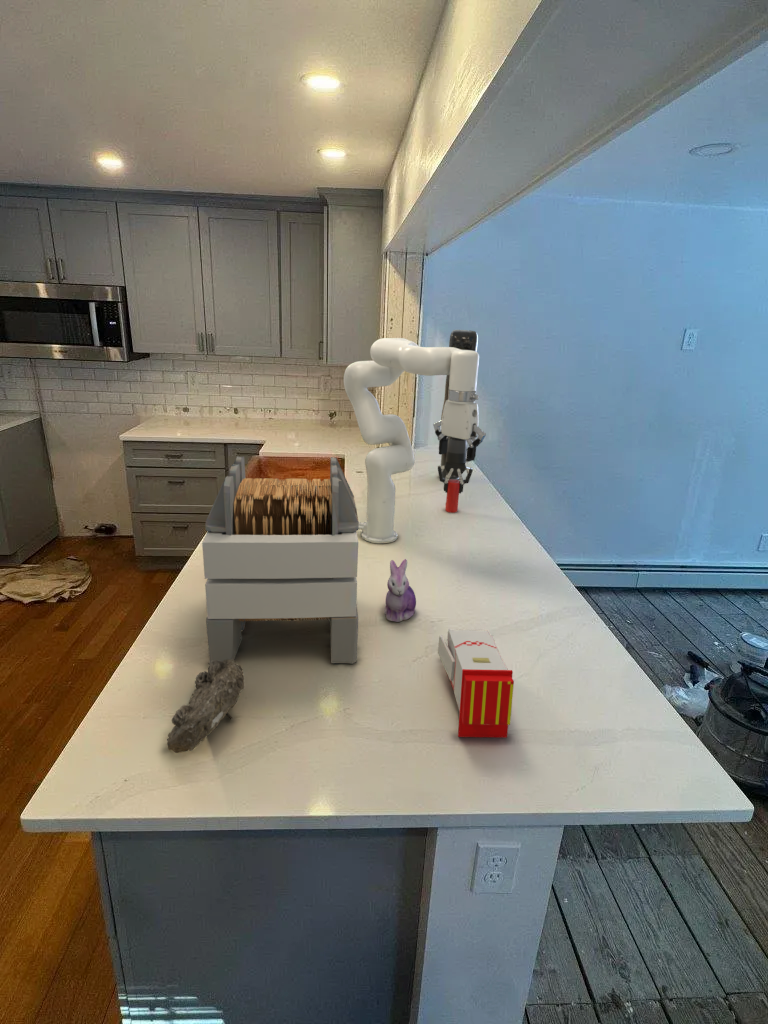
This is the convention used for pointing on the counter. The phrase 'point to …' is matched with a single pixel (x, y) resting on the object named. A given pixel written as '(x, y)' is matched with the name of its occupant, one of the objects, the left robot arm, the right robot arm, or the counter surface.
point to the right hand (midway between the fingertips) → (452, 492)
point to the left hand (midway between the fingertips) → (456, 457)
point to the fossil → (206, 705)
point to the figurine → (399, 594)
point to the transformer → (281, 558)
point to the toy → (478, 682)
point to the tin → (452, 496)
